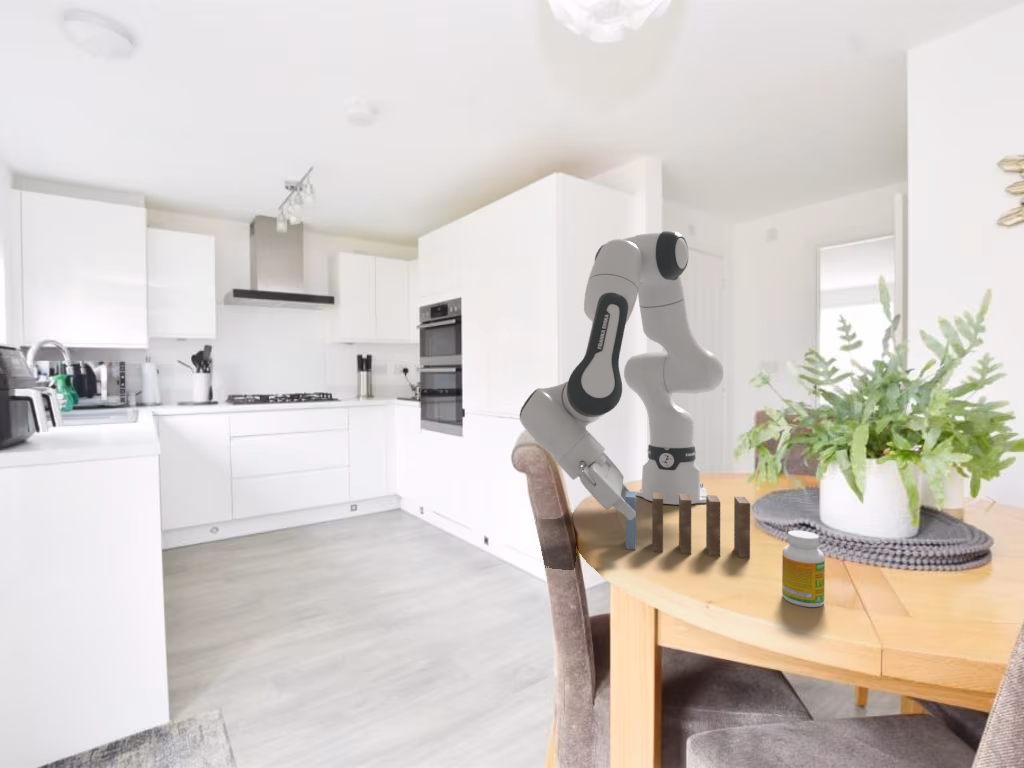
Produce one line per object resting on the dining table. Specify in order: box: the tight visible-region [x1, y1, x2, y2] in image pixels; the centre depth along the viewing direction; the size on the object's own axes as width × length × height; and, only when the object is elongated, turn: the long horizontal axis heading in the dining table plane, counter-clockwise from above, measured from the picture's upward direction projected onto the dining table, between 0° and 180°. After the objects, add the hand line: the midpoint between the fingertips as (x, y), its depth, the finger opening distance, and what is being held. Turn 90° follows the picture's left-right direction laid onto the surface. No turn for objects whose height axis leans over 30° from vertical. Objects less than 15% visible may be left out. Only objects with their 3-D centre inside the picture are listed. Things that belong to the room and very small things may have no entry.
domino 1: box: [625, 490, 637, 550], centre depth 101 cm, size 2×5×10 cm, turn 166°
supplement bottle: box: [781, 529, 826, 608], centre depth 76 cm, size 5×5×10 cm
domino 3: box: [678, 494, 692, 555], centre depth 98 cm, size 2×5×10 cm, turn 166°
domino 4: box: [705, 494, 721, 558], centre depth 97 cm, size 2×5×10 cm, turn 166°
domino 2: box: [651, 493, 664, 553], centre depth 99 cm, size 2×5×10 cm, turn 166°
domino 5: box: [733, 495, 751, 560], centre depth 96 cm, size 2×5×10 cm, turn 166°
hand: (634, 510), depth 100 cm, fingers open, 8 cm apart
